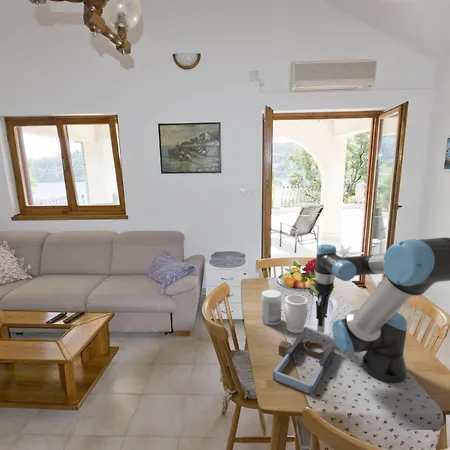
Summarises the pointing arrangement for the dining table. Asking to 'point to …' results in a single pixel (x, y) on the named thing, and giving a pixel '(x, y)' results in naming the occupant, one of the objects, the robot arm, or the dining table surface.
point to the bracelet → (312, 352)
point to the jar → (296, 313)
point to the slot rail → (325, 356)
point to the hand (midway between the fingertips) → (320, 331)
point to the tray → (293, 381)
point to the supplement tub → (271, 307)
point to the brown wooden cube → (284, 347)
